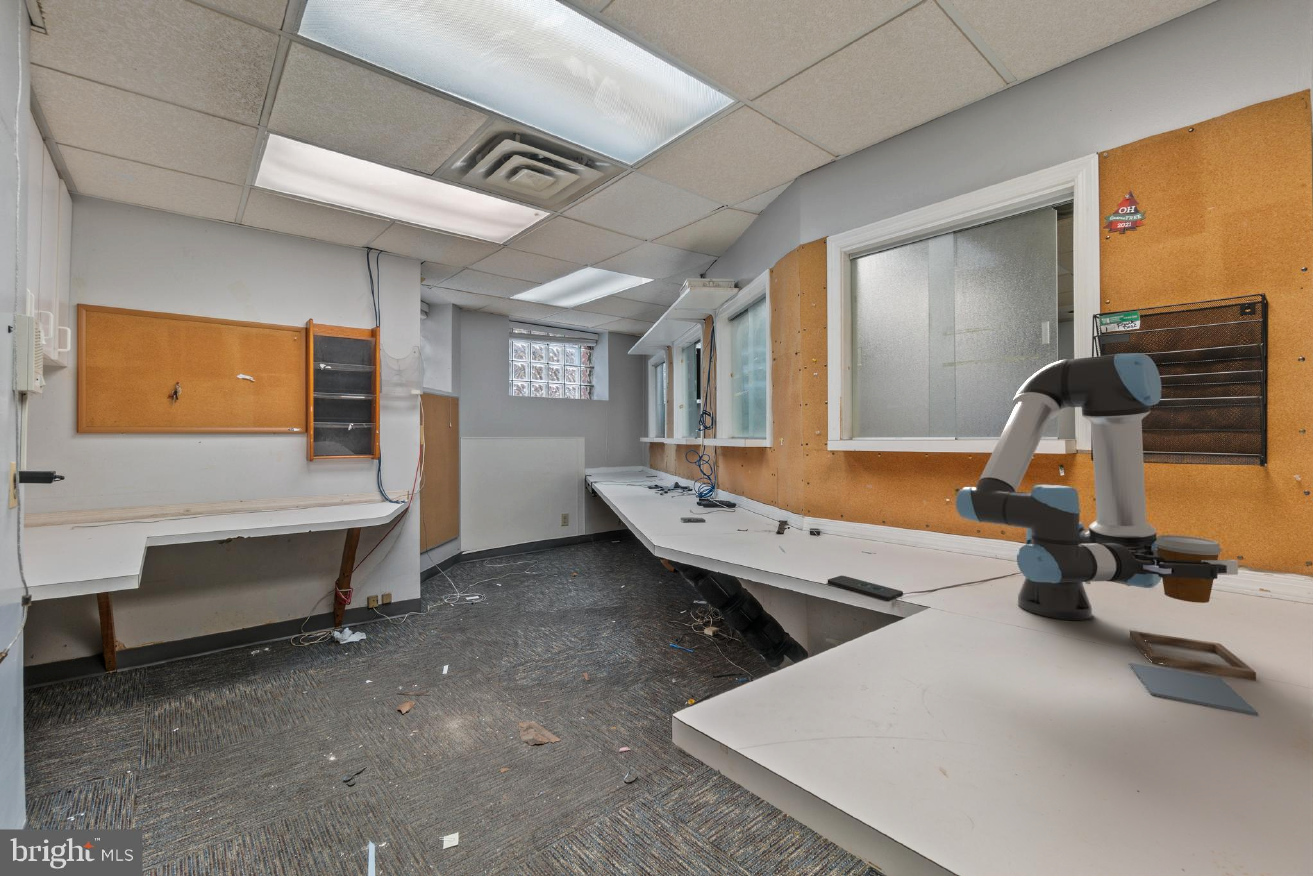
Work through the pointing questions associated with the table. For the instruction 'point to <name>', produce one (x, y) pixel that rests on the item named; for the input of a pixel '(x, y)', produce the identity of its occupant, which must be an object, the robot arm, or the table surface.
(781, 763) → the table surface
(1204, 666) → the cup holder frame
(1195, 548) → the disposable coffee cup
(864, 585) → the smart home device
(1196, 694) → the rubber mat
